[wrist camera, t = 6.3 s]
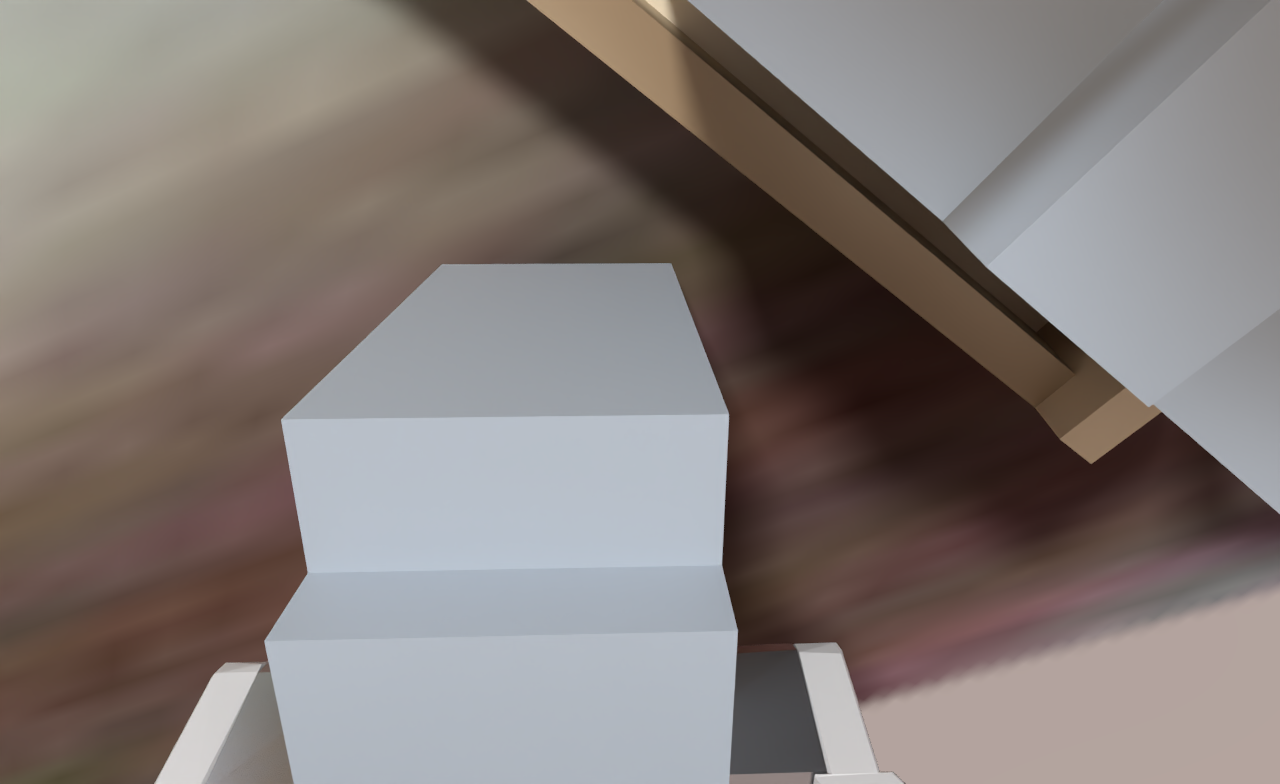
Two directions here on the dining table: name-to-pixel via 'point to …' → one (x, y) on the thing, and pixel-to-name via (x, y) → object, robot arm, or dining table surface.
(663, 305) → the stepped grey block
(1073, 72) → the wooden rectangular frame
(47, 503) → the dining table surface
